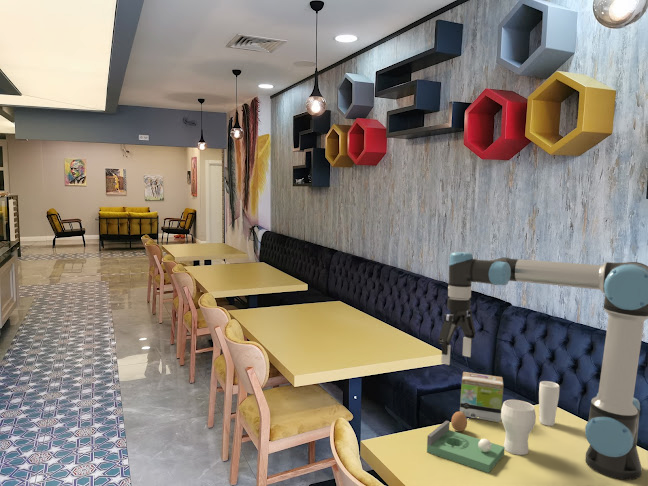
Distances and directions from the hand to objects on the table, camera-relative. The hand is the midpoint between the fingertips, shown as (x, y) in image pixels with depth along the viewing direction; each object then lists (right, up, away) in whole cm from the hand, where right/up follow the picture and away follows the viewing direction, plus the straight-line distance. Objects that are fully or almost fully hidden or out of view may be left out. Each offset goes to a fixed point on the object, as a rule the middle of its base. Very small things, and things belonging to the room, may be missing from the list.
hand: (456, 360), depth 173 cm
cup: (+18, -29, -5) cm, 34 cm away
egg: (+3, -27, +7) cm, 28 cm away
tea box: (+15, -26, +22) cm, 37 cm away
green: (+1, -28, -9) cm, 29 cm away
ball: (+6, -24, -13) cm, 28 cm away
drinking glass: (+38, -28, +16) cm, 50 cm away
